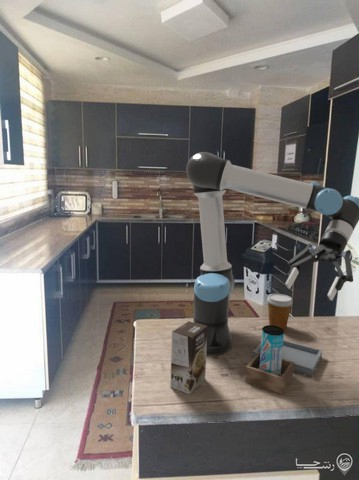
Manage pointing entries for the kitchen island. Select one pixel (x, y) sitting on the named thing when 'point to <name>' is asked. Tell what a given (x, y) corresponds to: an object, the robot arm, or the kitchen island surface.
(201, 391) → the kitchen island surface
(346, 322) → the kitchen island surface
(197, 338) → the coffee box
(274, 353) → the beverage can
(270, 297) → the disposable coffee cup
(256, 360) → the walnut holder
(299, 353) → the grey tray
